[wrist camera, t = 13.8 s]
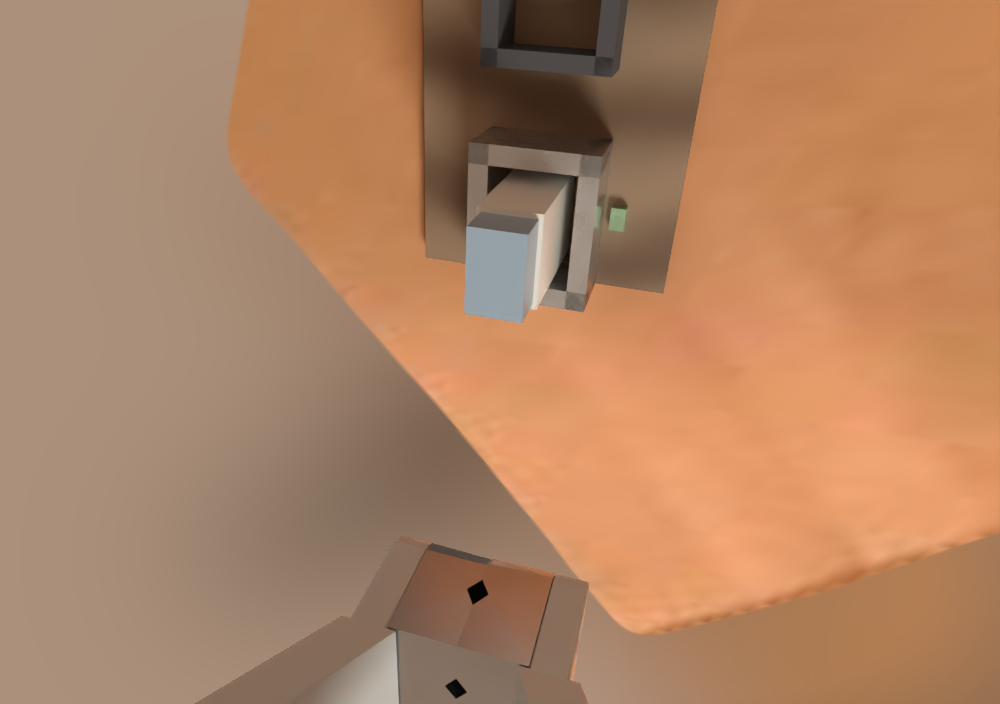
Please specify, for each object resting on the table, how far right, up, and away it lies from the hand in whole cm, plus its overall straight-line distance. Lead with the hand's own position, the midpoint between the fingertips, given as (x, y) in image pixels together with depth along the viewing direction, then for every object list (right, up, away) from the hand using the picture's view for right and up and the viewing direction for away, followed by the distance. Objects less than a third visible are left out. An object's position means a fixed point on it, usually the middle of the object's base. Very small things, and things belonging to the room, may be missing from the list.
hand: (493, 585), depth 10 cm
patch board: (+3, +17, +24) cm, 30 cm away
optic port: (+3, +11, +26) cm, 29 cm away
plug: (+3, +11, +26) cm, 29 cm away
